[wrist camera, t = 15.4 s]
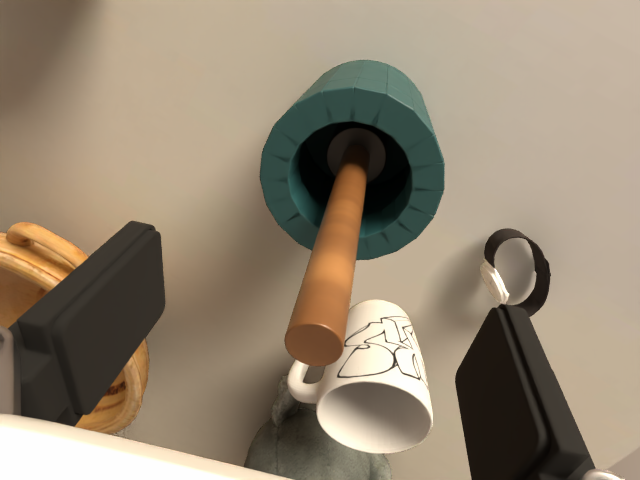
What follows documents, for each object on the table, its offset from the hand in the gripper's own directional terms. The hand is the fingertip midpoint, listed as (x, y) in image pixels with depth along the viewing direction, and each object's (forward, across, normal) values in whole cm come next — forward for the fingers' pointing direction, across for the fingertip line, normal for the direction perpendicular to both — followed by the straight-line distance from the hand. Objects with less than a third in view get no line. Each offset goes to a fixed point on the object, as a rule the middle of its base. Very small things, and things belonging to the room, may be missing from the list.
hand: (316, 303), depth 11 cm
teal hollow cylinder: (+20, 0, +1) cm, 20 cm away
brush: (+19, 0, +1) cm, 19 cm away
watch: (+20, -14, +9) cm, 26 cm away
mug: (+19, -4, +19) cm, 27 cm away
